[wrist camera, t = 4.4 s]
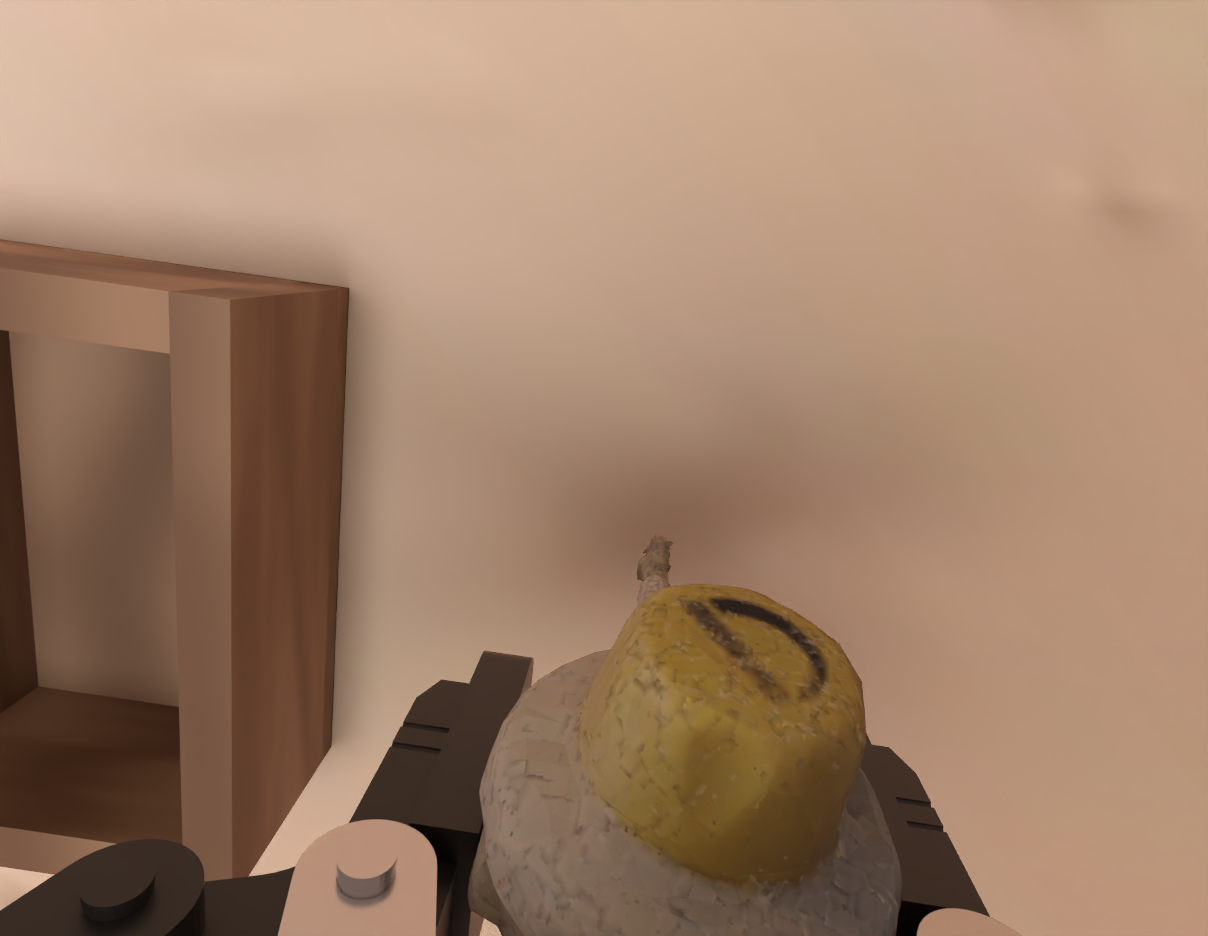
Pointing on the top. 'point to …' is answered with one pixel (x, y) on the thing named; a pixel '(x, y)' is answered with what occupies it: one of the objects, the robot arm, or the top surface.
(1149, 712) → the top surface
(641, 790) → the regulator
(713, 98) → the top surface
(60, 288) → the open wooden box
